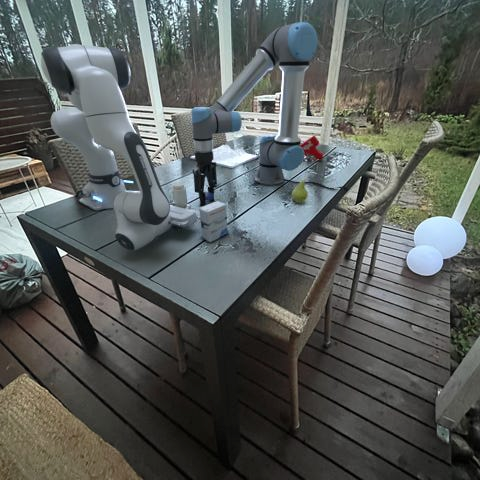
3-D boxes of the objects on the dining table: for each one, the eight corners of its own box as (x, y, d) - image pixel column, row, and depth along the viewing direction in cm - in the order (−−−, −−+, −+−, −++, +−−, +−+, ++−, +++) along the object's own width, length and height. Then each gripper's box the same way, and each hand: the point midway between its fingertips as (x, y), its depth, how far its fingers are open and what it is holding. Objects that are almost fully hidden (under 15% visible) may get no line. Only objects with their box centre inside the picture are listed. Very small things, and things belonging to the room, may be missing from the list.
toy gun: (327, 155, 171) (315, 134, 168) (326, 157, 168) (314, 136, 164) (302, 170, 182) (290, 151, 178) (301, 172, 178) (289, 152, 174)
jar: (184, 224, 105) (179, 187, 97) (174, 221, 107) (168, 185, 99) (192, 218, 109) (187, 183, 101) (181, 216, 111) (177, 181, 103)
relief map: (232, 168, 162) (231, 159, 159) (190, 158, 179) (189, 150, 177) (257, 157, 180) (257, 149, 177) (217, 149, 198) (217, 142, 195)
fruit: (288, 200, 123) (290, 174, 116) (302, 197, 125) (305, 172, 119) (296, 206, 118) (299, 179, 111) (310, 203, 120) (314, 177, 114)
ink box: (219, 228, 102) (217, 199, 95) (228, 233, 99) (227, 204, 92) (201, 237, 97) (198, 207, 90) (210, 242, 94) (207, 212, 87)
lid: (208, 194, 123) (207, 190, 122) (215, 198, 119) (215, 194, 118) (197, 197, 119) (197, 194, 118) (205, 201, 116) (205, 198, 115)
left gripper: (181, 218, 89) (204, 202, 99) (135, 206, 97) (161, 193, 107) (183, 234, 93) (205, 217, 103) (138, 222, 100) (163, 207, 111)
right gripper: (209, 144, 117) (212, 194, 129) (181, 154, 103) (187, 209, 116) (224, 146, 113) (225, 197, 126) (196, 157, 100) (201, 213, 112)
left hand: (182, 205), depth 105 cm, fingers closed on jar, 5 cm apart
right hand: (207, 203), depth 121 cm, fingers closed on lid, 5 cm apart
